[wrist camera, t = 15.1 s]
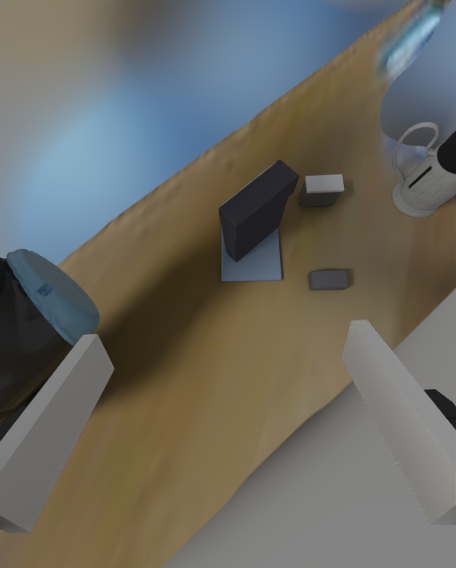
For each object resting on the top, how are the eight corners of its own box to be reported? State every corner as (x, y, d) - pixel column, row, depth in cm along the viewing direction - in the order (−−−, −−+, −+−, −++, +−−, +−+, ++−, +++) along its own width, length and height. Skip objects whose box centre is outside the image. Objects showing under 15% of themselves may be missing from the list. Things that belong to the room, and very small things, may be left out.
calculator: (265, 214, 45) (277, 154, 30) (281, 229, 44) (300, 174, 29) (223, 249, 44) (213, 204, 29) (238, 265, 43) (235, 227, 28)
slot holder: (308, 290, 41) (317, 283, 36) (299, 193, 46) (305, 176, 41) (344, 289, 41) (358, 282, 36) (331, 191, 46) (342, 174, 41)
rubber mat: (221, 281, 43) (221, 281, 42) (221, 205, 46) (221, 204, 46) (280, 280, 42) (281, 279, 41) (275, 203, 46) (276, 201, 45)
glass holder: (436, 222, 43) (536, 162, 28) (359, 203, 45) (416, 137, 30) (442, 184, 45) (539, 109, 30) (368, 166, 47) (426, 88, 32)
